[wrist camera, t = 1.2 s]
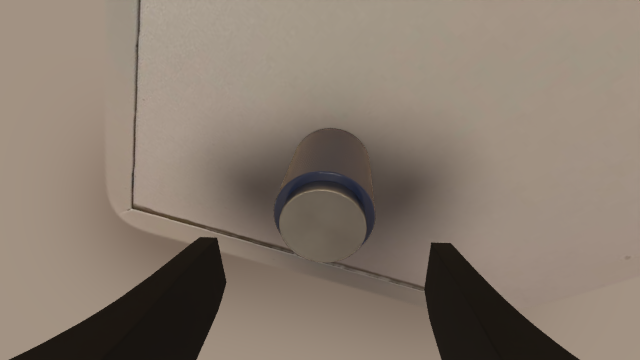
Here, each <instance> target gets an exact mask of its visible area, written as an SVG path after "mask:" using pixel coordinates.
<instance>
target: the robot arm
mask: <svg viewBox="0 0 640 360" xmlns="http://www.w3.org/2000/svg"><path fill="white" fill-rule="evenodd" d="M225 285H226V278H225V273H224V269H223V264H222V259H221V254H220V250H219V245H218V240H217V238H209V237H200V238H198V239H197V240H196V241H194V242H193V243H192V244H190V245H189V246H188V247H186V248H185V249H184V250H183V251H182V252H180V253H179V254H178V255H176V256H175V257H174V258H173V259H171V260H170V261H169V262H168V263H166V264H165V265H164V266H163V267H161V268H160V269H159V270H157V271H156V272H155V273H154V274H152V275H151V276H150V277H148V278H147V279H146V280H144V281H143V282H142V283H140V284H139V285H137V286H136V287H134V288H133V289H132V290H130V291H129V292H128V293H126V294H125V295H124V296H122V297H120V298H119V299H118V300H116V301H115V302H113V303H112V304H110V305H108V306H107V307H105V308H104V309H102V310H101V311H99V312H97V313H96V314H94V315H92V316H91V317H89V318H88V319H86V320H84V321H82V322H81V323H79V324H77V325H75V326H73V327H72V328H70V329H68V330H66V331H64V332H62V333H61V334H59V335H57V336H55V337H53V338H52V339H50V340H48V341H46V342H44V343H42V344H40V345H38V346H37V347H34V348H32V349H30V350H28V351H26V352H24V353H22V354H20V355H18V356H16V357H14V358H12V359H9V360H196V359H197V357H198V355H199V352H200V350H201V348H202V346H203V344H204V341H205V339H206V337H207V335H208V332H209V330H210V328H211V326H212V323H213V321H214V319H215V316H216V314H217V312H218V309H219V306H220V303H221V300H222V296H223V293H224V289H225ZM424 290H425V296H426V302H427V308H428V313H429V319H430V322H431V326H432V329H433V333H434V336H435V339H436V343H437V346H438V349H439V353H440V356H441V359H442V360H579V359H578V358H576V357H575V356H574V355H572V354H571V353H569V352H568V351H567V350H565V349H564V348H563V347H561V346H560V345H559V344H557V343H556V342H555V341H553V340H552V339H551V338H550V337H548V336H547V335H546V334H544V333H543V332H542V331H541V330H539V329H538V328H537V327H536V326H534V325H533V324H532V323H531V322H530V321H529V320H527V319H526V318H525V317H524V316H523V315H522V314H520V313H519V312H518V311H517V310H516V309H515V308H514V307H513V306H512V305H510V304H509V303H508V302H507V301H506V300H505V299H504V298H503V297H502V296H501V295H500V294H499V293H498V292H497V291H496V290H495V289H494V288H493V287H492V286H491V285H490V284H489V283H488V282H487V281H486V280H485V279H484V278H483V277H482V276H481V275H480V274H479V273H478V272H477V271H476V270H475V269H474V268H473V267H472V266H471V265H470V263H469V262H468V261H467V260H466V259H465V258H464V257H463V256H462V255H461V254H460V253H459V252H458V250H457V249H456V248H455V247H454V246H453V245H452V244H451V243H431V249H430V255H429V262H428V269H427V275H426V282H425V289H424Z"/></svg>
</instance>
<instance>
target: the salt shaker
mask: <svg viewBox="0 0 640 360" xmlns="http://www.w3.org/2000/svg"><path fill="white" fill-rule="evenodd" d="M274 219H275V223H276V226H277V229H278V231H279V233H280V234H281V236H282V238H283V240H284V241H285V243H286V244H287V246H288V247H289V248H290V249H291V250H292V251H293V252H295V253H296V254H298V255H299V256H301V257H303V258H305V259H308V260H311V261H315V262H323V263H324V262H335V261H339V260H342V259H345V258H347V257H349V256H350V255H352V254H353V253H354V252H355V251H357V249H358V248H359V247H360V246H361V245H363V244H364V242H365V241H366V240H367V239H368V238H369V236H370V234H371V232H372V230H373V228H374V224H375V206H374V197H373V187H372V178H371V169H370V160H369V155H368V152H367V150H366V148H365V147H364V145H363V144H362V143H361V141H360V140H359V139H357V138H356V137H355V136H354V135H352V134H350V133H348V132H346V131H343V130H339V129H322V130H318V131H315V132H313V133H311V134H309V135H308V136H306V137H305V138H304V139H303V140H302V141H301V142H300V144H299V145H298V147H297V149H296V151H295V153H294V156H293V158H292V161H291V163H290V166H289V168H288V171H287V173H286V176H285V178H284V181H283V183H282V185H281V188H280V190H279V193H278V195H277V198H276V201H275V204H274Z"/></svg>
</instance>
